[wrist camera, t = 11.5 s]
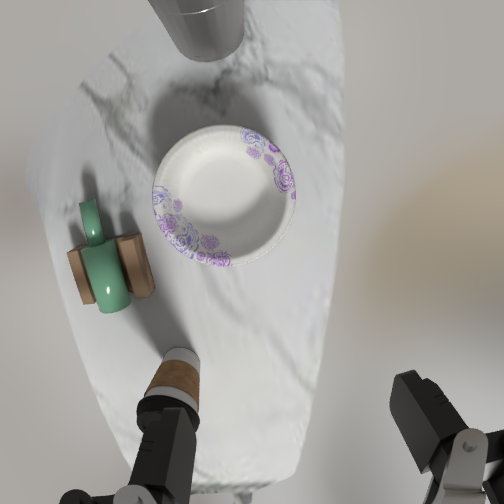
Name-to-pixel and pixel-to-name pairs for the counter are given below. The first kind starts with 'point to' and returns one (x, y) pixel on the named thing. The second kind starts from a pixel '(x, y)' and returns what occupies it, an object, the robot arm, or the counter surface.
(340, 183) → the counter surface
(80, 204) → the bottle
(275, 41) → the counter surface
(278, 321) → the counter surface
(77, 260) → the cradle
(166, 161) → the paper bowls
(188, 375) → the coffee cup
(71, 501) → the robot arm
